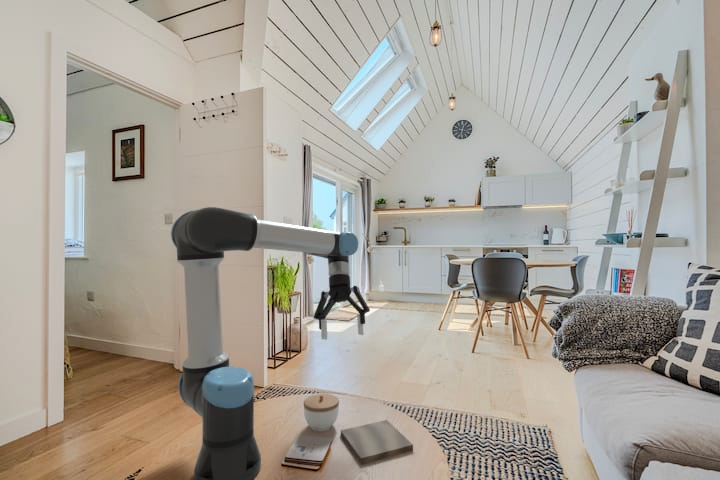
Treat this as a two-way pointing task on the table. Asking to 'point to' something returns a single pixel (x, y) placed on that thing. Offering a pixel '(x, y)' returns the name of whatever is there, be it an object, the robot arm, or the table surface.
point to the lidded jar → (321, 411)
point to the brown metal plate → (375, 441)
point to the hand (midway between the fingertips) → (342, 337)
